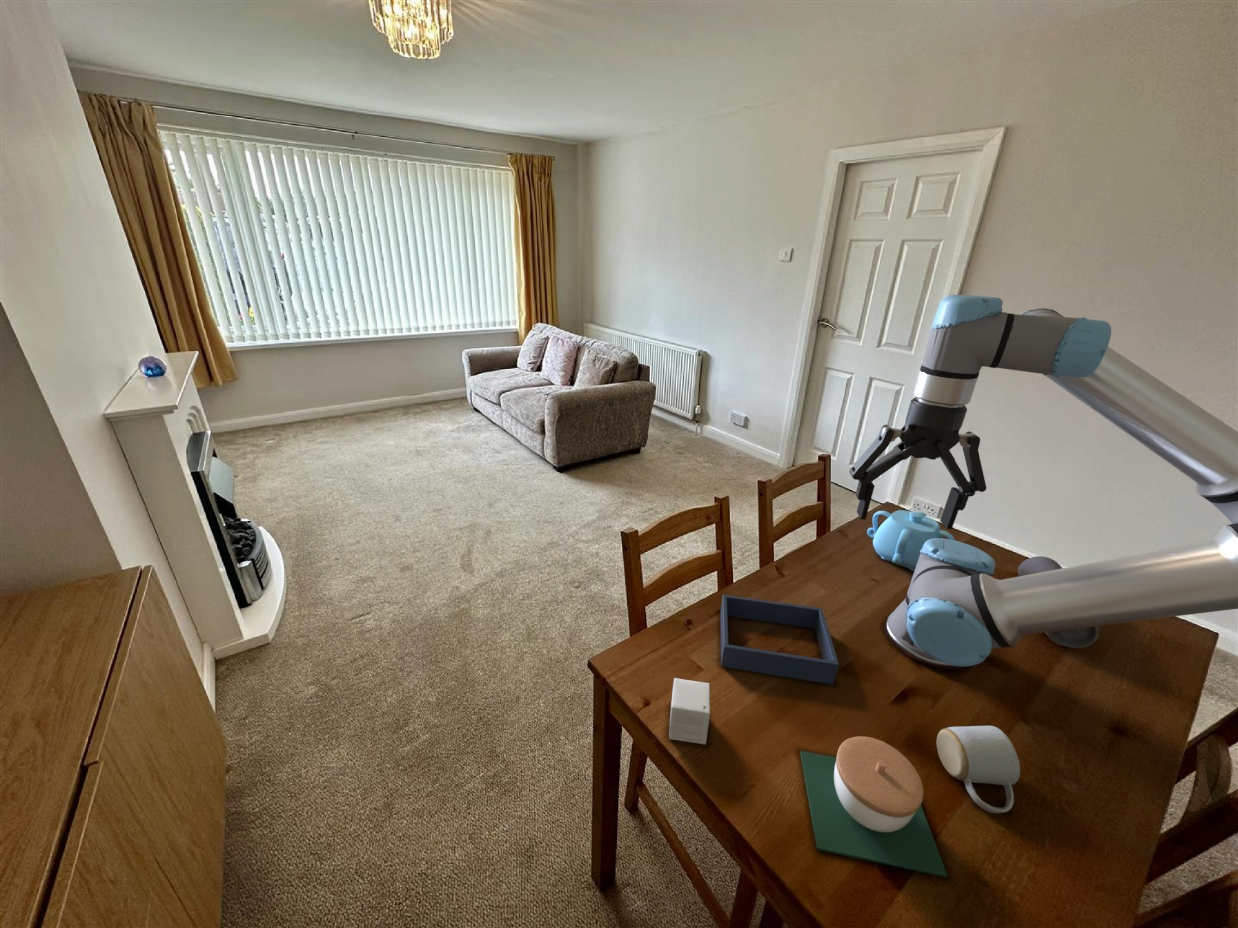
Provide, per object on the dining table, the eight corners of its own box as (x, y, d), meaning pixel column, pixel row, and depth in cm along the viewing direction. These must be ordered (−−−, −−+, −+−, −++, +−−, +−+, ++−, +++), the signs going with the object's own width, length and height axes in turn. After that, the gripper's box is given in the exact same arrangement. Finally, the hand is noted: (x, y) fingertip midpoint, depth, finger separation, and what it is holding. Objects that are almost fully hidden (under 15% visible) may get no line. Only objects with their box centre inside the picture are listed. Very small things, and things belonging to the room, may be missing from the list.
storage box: (817, 626, 103) (821, 608, 101) (833, 684, 89) (839, 664, 87) (720, 612, 107) (722, 594, 105) (721, 666, 92) (724, 646, 90)
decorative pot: (920, 544, 135) (934, 501, 130) (951, 578, 120) (968, 532, 115) (860, 539, 136) (872, 496, 131) (883, 573, 122) (897, 527, 116)
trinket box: (920, 857, 63) (941, 813, 60) (834, 837, 65) (849, 793, 61) (894, 778, 73) (911, 735, 69) (820, 763, 75) (833, 721, 71)
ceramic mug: (927, 746, 78) (941, 713, 75) (976, 747, 78) (993, 715, 75) (969, 816, 69) (988, 782, 66) (1026, 817, 69) (1048, 784, 66)
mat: (907, 772, 74) (908, 770, 74) (946, 877, 62) (947, 875, 62) (800, 752, 77) (800, 750, 77) (816, 849, 64) (817, 847, 64)
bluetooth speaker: (1007, 583, 120) (1022, 549, 116) (1054, 594, 116) (1071, 560, 112) (1033, 643, 101) (1052, 605, 97) (1090, 659, 97) (1112, 620, 93)
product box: (706, 713, 83) (710, 682, 80) (706, 746, 77) (710, 714, 74) (670, 707, 84) (673, 676, 81) (668, 739, 78) (671, 707, 75)
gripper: (1015, 400, 76) (971, 518, 84) (848, 389, 79) (822, 502, 88) (1045, 415, 69) (994, 541, 77) (860, 401, 73) (831, 522, 81)
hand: (902, 520), depth 83 cm, fingers open, 13 cm apart
